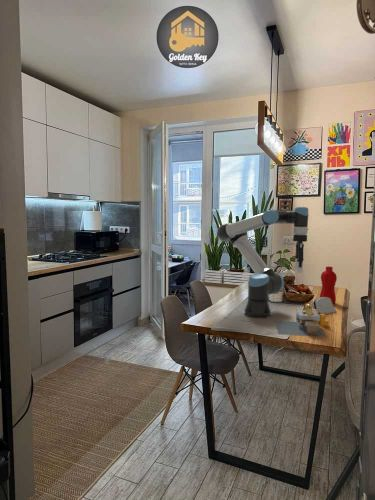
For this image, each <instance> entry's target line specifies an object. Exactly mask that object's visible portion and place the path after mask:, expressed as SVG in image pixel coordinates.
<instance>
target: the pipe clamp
mask: <svg viewBox="0 0 375 500" xmlns="http://www.w3.org/2000/svg"><path fill="white" fill-rule="evenodd" d="M312 311H316V312H317V310H316V309H313V308H312ZM318 315H319V316H320V321H318V320H317V323H318V325H319V326H320V327H326V326H328V327H329V324H330V321H329V320H328V319H327V318H326V317H327V315H326V314H320V313H318Z"/></svg>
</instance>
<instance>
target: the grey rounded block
mask: <svg viewBox="0 0 375 500" xmlns="http://www.w3.org/2000/svg"><path fill="white" fill-rule="evenodd" d="M311 304H313V307H312V309H316V310H317V313H318V314H325V315H326V314H331V313H335V312H337V310H336V307H334V304H332V301H331V299H330V298H328V297H321V298H320V297H318V298H315V299H314V300H313V301H312V302H311Z"/></svg>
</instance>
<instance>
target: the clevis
mask: <svg viewBox="0 0 375 500" xmlns="http://www.w3.org/2000/svg"><path fill="white" fill-rule="evenodd" d="M295 311H296V312H295V315H296V316H295V322H296V324H297V326H298V328H299V329H306V334H307V335H314V336H318V330H320V329H321V326H320V325H318V323H317V320H318V321H320V316H319V313H317V312H316V311H312V315H306V309H305V310H303V309H296V310H295Z"/></svg>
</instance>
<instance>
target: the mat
mask: <svg viewBox="0 0 375 500" xmlns="http://www.w3.org/2000/svg"><path fill="white" fill-rule="evenodd" d="M274 323H275V326H276V330H277V333H278V335H286V336H287V335H288V336H302V337H313V338H315V337H317V338H327V336H326V334H324V332H323V330H322V329H321V328H320V330H318V336H314V335H307V334H306V329H299V328H298V326H297V324H296V321H289V320H274Z"/></svg>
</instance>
